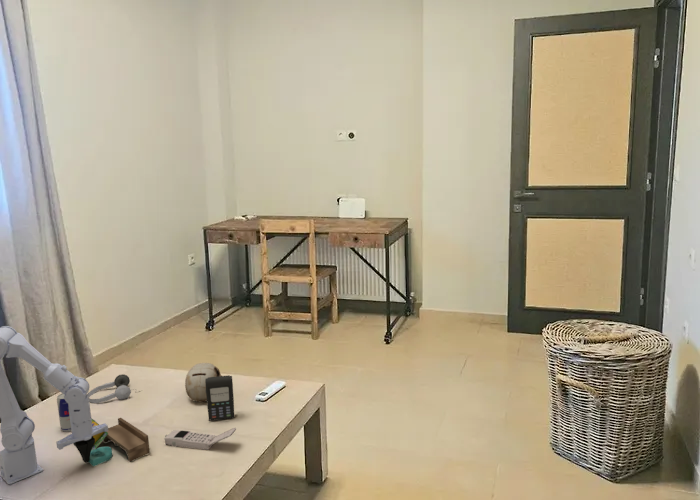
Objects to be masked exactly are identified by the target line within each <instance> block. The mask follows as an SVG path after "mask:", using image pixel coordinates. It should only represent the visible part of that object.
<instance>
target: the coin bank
mask: <svg viewBox="0 0 700 500" xmlns="http://www.w3.org/2000/svg"><path fill="white" fill-rule="evenodd" d="M218 376H223V375H222V374H221V371H220V368H218V367H217V366H215V365H214V364H213V363H211V362H200V363H196V364H194V365H193V366H192V367H190V369H189V370H188V372H187V374H186V376H185V385H184V386H185V392H186V393H185V394H186V395H187V396H188V397H189V399H190V400H191V401H195V402H196V403H205V402H207V396H206V384H205V379H206V378H208V377H218Z"/></svg>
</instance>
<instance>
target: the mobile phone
mask: <svg viewBox="0 0 700 500" xmlns="http://www.w3.org/2000/svg"><path fill="white" fill-rule="evenodd" d="M236 430H237V428H236V427H233V428H230V429H229V430H226V431H224V432H222V433H219V434H218V435H215V434H207V433H201V432H192V431H191V430H184V429H183V430H179V429H177V430H171V432H169V433H168V434H165V435H164V438H163V439H164V443H165V444H166V445H169V446H172V447H173V448H176V447H178V448H179V447H180V448H187V449H197V450H207V451H208V450H209V449H210V448H211V447H212V446H213V445H214V444H215V443H218V442H220V441H223V440H225V439H228V438H230V437H231V436H232V435H233V434H234V432H236Z"/></svg>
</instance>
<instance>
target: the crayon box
mask: <svg viewBox="0 0 700 500" xmlns="http://www.w3.org/2000/svg"><path fill="white" fill-rule="evenodd" d="M91 420H92V427H93V426H97V425H100V424H99V423H98V422H97V421H96V420H94V419H93V418H92V417H91ZM107 434H108V433H107V432H101V433H99V434H96V435H94V436H93V438H95V443H94V445H93V447H92V450H94V449H97V448H98V446H99V445H100V444H101V443H102V442H103V439H104V438H105V437H106V436H107ZM92 450H91V451H92Z"/></svg>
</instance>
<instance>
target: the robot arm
mask: <svg viewBox="0 0 700 500" xmlns="http://www.w3.org/2000/svg"><path fill="white" fill-rule="evenodd" d="M4 357H5V358H7V359H9V358H20V359H22V360H23V361H24V362H26V363H28V364H29V365H31V366H32V367H34V368H36V370H38V371H40V372H41V373H42V374H43V380H44V381H46V382H47V383H48V384H50V386H53V388H55V389H56V390H58V391H59V392H60V394H62V393H63V394H65V396H64V399H65V401H66V402H67V403H68V406H69V416H70V424H71V431H70V432H71V433H70V434H69V435H66V436H65V437H63V438H62V439H59V440H57V441H56V442H55V443H56V448H57V449H58V450H59V451H61V450H63V449H64V448H65V447H67V446H71V445H74V446H75V448H76V449H77V451H78V452H79V454H80V457H81V459H82V462H84V463H85V464H87V463H89V460H90V453H91V450H92V447H93V445H94V443H95V438H93V436H94V435H96V434H99V433H101V432H107V431H108V428H109V426H108V425H109V424H106V423H102V424H99V425H97V426H93V427H92V420H91V418H92V414H91V405H90V404H91V403H90V402H89V399H90V398H89V399H88V395H87V394H88V393H89V392H90V383H89V382H88V381H87V379H86V378H84V377H79V376H78V375H77V376H76V375H74V374H73V373H72V372H71V371H70V370H68V369H67V368H68V367H67V366H66V365H65V364H60V363H52V362H51V361H50V360H49V359H47V357H46V356H44V355H43V354H42V353H41V352H39V350H37V348H35V347H34V346H33V345H32V344H30V342H28V340H27V339H26V338H25V336H24V335H23V334H22V333H20V332H17V330H16V329H15V328H13V327H12V326H8V325H4V326H1V327H0V433H1V441H0V442H1V446H2V447H3V448H4V449H2V450H0V477H1V478H2V479H3V480H4V482H6V484H7V485H12V484H15V483H17V482H19V481H22V480H23V479H27V478H28V477H31V476H35V475H36V474H39V473H41V472H43V471H44V469H43V467H41V465H39V464H38V460H37V453H36V447H35V445H36V444H35V440H34V437H33V433H34V431H35V429H36V428H35V427H36V424H35V422H34V420H33V419H32V418H30V417H29V415H28V414H27V412H26V411H25V410H22V409H21V407H20V405H19V403H18V400H17V398H16V395H15V394H14V391H13V389H12V387H11V385H10V382H9V379H8V377H7V375H6V372H5V371H4V368H3V366H2V365H3V364H1V362H2V360H3V358H4Z"/></svg>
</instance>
